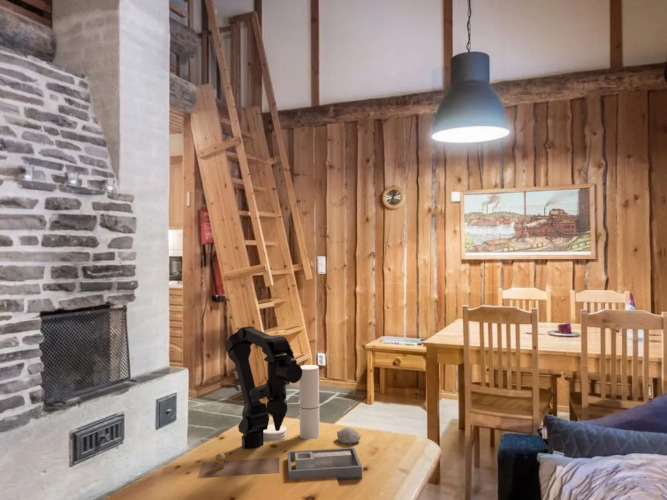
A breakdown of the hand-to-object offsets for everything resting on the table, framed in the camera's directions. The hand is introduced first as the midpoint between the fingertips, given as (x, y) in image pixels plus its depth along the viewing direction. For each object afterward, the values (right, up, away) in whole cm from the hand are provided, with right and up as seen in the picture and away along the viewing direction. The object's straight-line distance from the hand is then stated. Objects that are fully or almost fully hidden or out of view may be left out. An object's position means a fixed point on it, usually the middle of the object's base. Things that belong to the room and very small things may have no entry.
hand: (277, 425), depth 164 cm
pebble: (+23, -12, +18) cm, 32 cm away
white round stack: (-4, -12, +22) cm, 26 cm away
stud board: (-11, -12, -5) cm, 17 cm away
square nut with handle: (+15, -11, -5) cm, 19 cm away
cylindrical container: (+9, -12, +23) cm, 28 cm away
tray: (+15, -12, -5) cm, 20 cm away
